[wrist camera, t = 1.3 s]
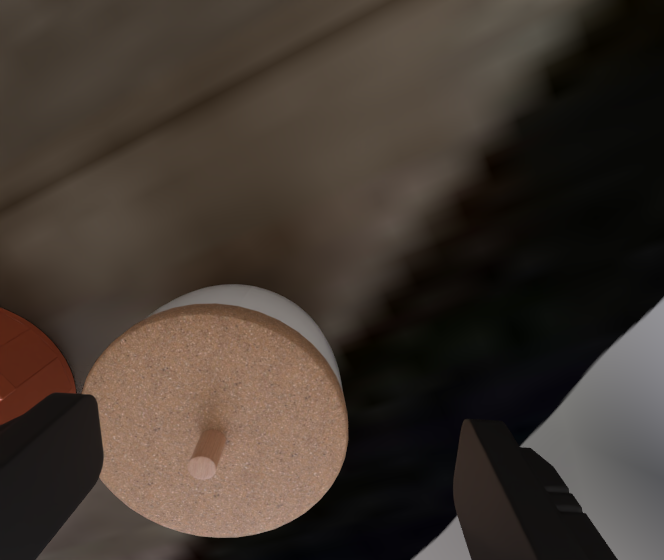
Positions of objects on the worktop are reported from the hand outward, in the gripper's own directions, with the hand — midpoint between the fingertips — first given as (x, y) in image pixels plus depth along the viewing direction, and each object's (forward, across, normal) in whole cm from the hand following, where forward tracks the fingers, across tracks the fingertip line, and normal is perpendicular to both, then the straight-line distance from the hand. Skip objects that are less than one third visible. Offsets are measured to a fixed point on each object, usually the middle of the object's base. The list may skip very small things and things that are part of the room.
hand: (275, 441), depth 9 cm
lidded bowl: (+18, +5, +6) cm, 19 cm away
